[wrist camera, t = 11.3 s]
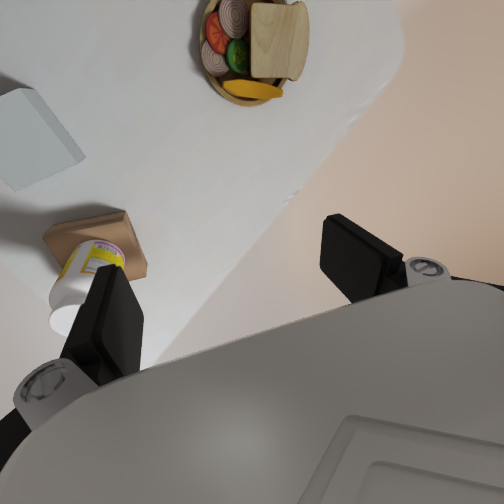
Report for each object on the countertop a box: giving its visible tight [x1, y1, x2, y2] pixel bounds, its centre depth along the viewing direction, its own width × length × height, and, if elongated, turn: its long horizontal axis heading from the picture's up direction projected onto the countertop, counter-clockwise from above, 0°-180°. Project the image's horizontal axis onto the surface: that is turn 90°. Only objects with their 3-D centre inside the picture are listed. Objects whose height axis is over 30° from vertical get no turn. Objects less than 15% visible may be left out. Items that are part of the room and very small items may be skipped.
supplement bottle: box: [49, 240, 125, 337], centre depth 31 cm, size 7×7×13 cm
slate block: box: [0, 88, 86, 192], centre depth 28 cm, size 8×8×4 cm
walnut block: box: [42, 211, 147, 281], centre depth 38 cm, size 10×10×4 cm
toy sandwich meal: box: [199, 0, 309, 107], centre depth 30 cm, size 12×14×5 cm
